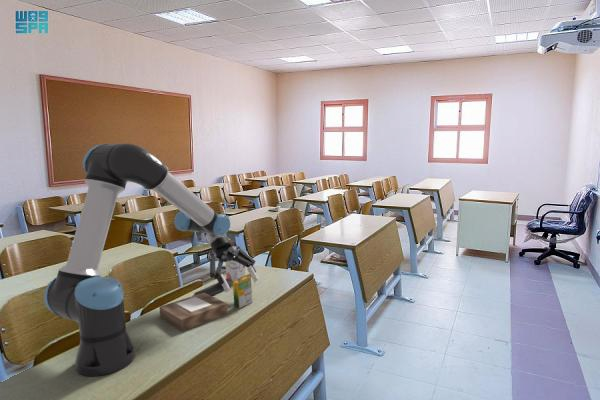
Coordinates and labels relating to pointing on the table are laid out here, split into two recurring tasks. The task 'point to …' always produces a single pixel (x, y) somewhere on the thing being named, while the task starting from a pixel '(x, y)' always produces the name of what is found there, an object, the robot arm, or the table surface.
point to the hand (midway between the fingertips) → (242, 285)
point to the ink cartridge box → (234, 269)
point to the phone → (212, 290)
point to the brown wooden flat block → (193, 311)
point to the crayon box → (242, 291)
